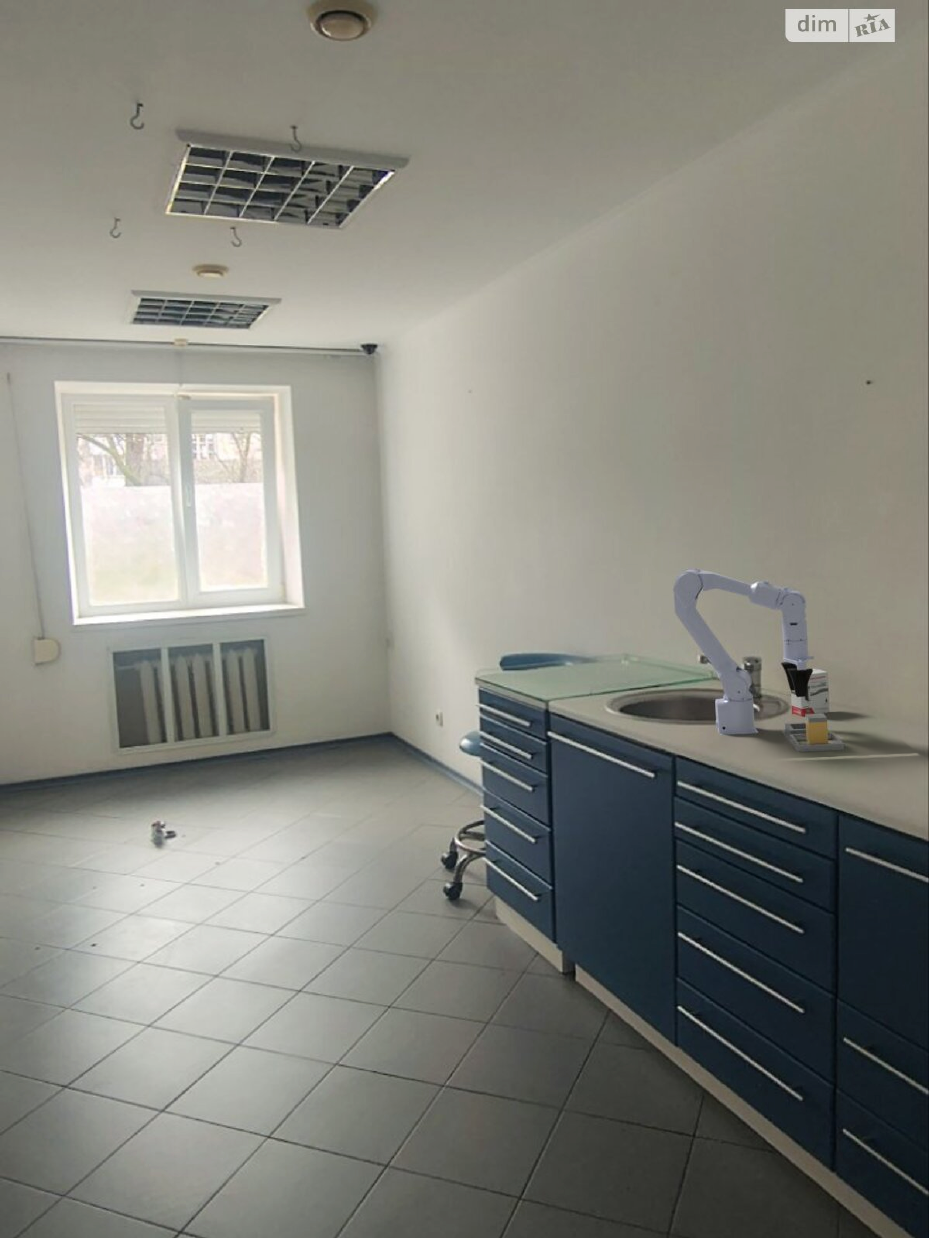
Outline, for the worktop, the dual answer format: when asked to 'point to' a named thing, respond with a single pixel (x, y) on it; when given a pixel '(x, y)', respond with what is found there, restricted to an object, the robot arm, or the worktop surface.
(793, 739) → the parts tray
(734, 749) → the worktop surface
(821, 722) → the block
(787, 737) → the socket block
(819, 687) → the ink box
